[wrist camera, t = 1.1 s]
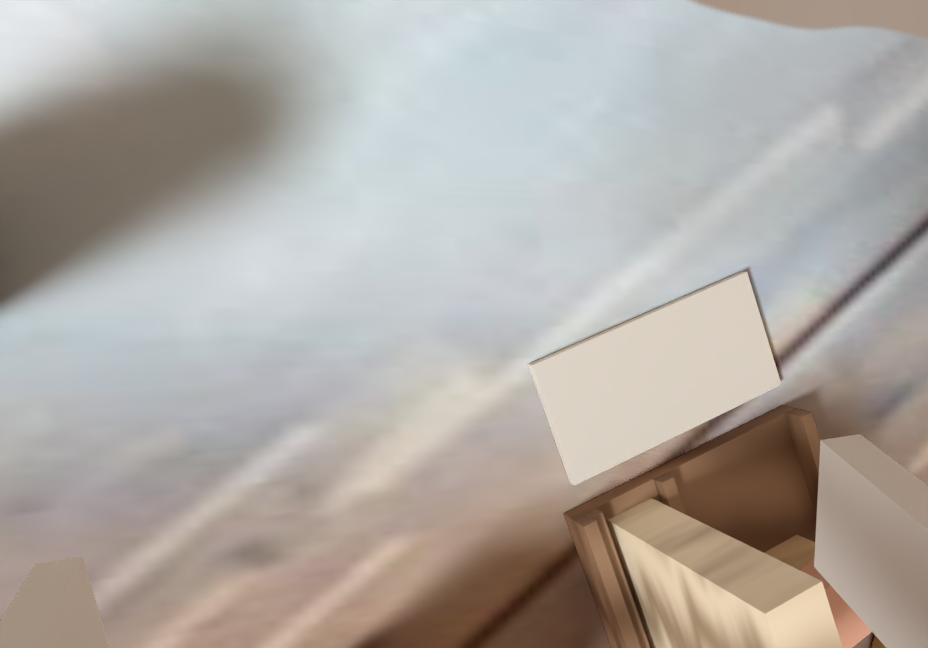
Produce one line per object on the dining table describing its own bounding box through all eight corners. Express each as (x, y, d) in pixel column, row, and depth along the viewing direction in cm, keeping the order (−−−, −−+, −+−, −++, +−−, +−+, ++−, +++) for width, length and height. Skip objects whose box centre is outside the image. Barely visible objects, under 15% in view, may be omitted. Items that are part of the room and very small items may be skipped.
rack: (837, 586, 53) (869, 601, 51) (632, 705, 49) (655, 728, 47) (781, 405, 51) (811, 411, 49) (563, 513, 47) (583, 526, 45)
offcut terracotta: (843, 611, 48) (875, 628, 46) (786, 656, 47) (817, 676, 45) (817, 556, 48) (849, 570, 45) (759, 600, 47) (789, 617, 44)
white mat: (775, 383, 51) (781, 384, 51) (570, 483, 47) (574, 485, 47) (740, 271, 50) (747, 271, 50) (527, 364, 46) (531, 365, 46)
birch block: (696, 632, 49) (878, 762, 36) (655, 655, 48) (824, 798, 35) (651, 497, 48) (822, 581, 34) (607, 520, 47) (765, 613, 33)
